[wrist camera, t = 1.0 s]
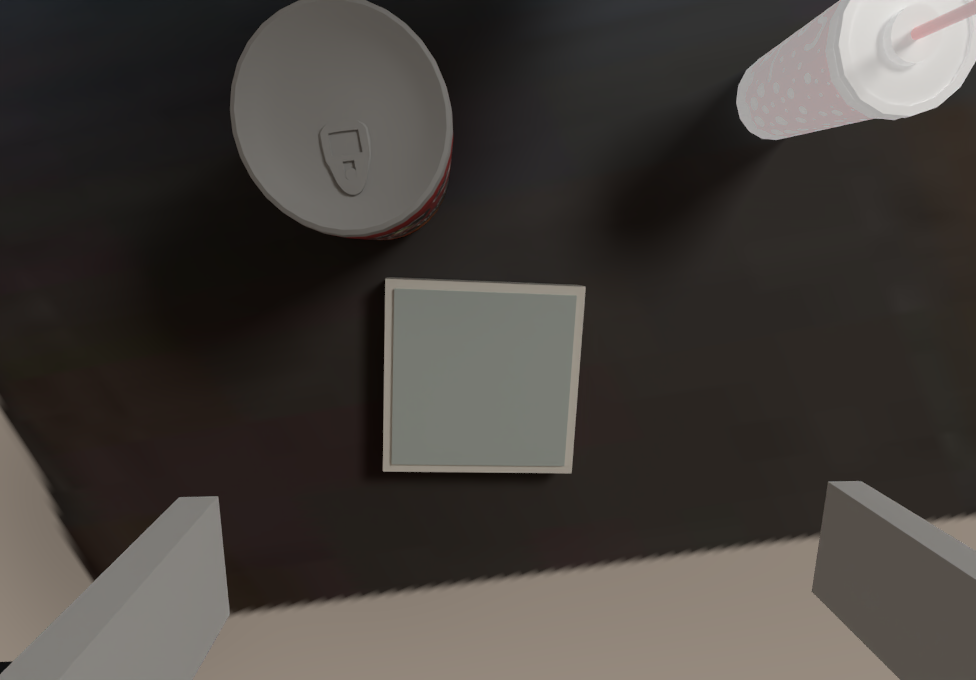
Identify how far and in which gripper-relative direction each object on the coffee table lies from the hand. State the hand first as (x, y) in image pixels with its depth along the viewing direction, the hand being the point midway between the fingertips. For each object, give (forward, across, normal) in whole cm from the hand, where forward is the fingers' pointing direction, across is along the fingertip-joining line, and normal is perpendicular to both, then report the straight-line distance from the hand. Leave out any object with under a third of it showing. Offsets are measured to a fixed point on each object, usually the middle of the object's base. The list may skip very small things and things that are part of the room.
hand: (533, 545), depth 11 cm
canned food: (+21, -6, +10) cm, 24 cm away
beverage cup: (+21, +17, +14) cm, 30 cm away
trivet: (+20, 0, -2) cm, 20 cm away
